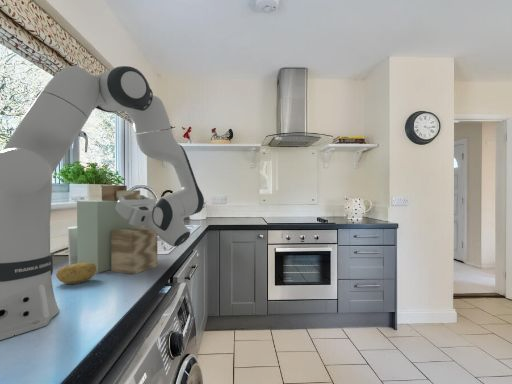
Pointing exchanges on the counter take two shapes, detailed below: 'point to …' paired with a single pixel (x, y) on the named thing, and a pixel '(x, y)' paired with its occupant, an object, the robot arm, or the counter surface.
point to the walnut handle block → (119, 193)
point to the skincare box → (72, 244)
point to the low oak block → (133, 250)
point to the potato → (76, 273)
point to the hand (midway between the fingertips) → (131, 196)
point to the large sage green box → (97, 232)
